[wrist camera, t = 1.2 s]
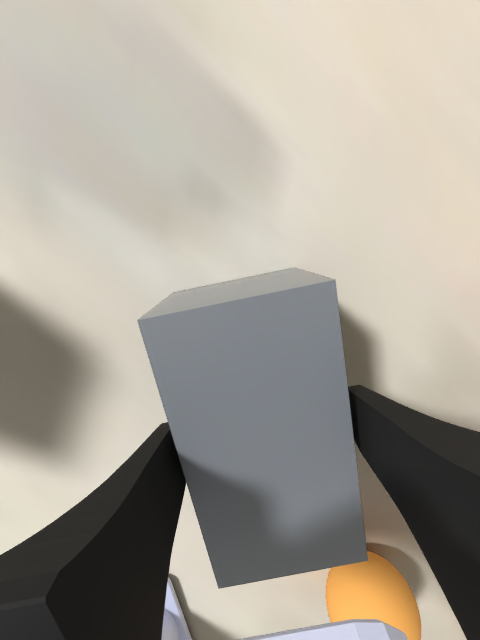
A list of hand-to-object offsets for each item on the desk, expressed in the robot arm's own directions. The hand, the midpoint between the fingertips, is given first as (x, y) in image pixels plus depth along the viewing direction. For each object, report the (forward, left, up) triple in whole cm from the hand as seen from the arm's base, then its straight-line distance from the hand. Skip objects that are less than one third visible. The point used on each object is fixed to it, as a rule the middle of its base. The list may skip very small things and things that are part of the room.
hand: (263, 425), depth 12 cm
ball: (+4, -14, -1) cm, 15 cm away
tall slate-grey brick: (0, 0, -4) cm, 4 cm away
